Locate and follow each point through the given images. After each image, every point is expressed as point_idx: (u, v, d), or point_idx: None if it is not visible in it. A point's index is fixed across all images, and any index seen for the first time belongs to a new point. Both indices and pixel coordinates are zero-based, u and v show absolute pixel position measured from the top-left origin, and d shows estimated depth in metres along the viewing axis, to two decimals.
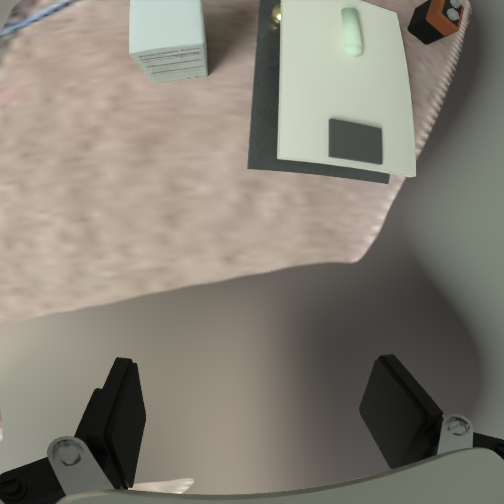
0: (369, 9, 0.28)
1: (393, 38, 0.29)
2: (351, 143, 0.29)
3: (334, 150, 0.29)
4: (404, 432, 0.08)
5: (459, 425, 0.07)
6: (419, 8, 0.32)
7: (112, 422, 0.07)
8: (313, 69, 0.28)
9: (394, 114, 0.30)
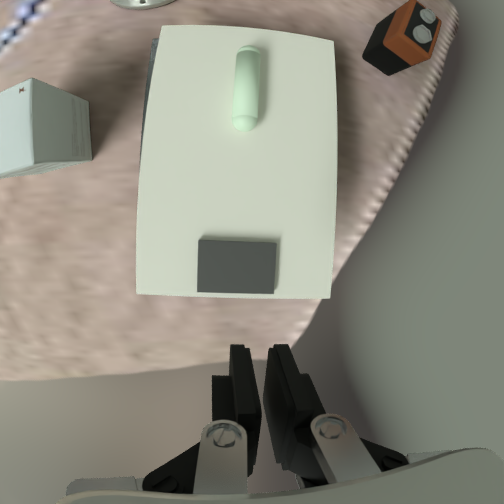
0: (287, 43, 0.23)
1: (321, 84, 0.24)
2: (227, 272, 0.24)
3: (202, 284, 0.24)
4: (281, 425, 0.09)
5: (331, 425, 0.08)
6: (380, 25, 0.27)
7: (256, 399, 0.08)
8: (182, 163, 0.23)
9: (304, 214, 0.25)
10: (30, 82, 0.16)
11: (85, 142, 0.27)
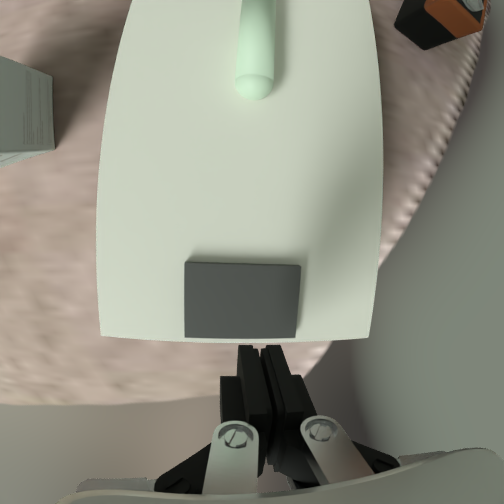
0: None
1: (358, 45, 0.16)
2: (228, 309, 0.16)
3: (192, 327, 0.16)
4: (271, 426, 0.09)
5: (321, 427, 0.08)
6: None
7: (267, 400, 0.08)
8: (161, 147, 0.15)
9: (339, 222, 0.17)
10: None
11: (44, 126, 0.19)
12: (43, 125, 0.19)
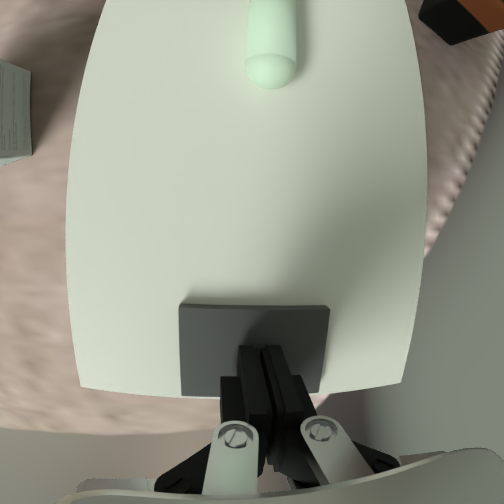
0: None
1: (393, 30, 0.12)
2: (236, 364, 0.12)
3: (191, 384, 0.12)
4: (271, 426, 0.09)
5: (321, 427, 0.08)
6: None
7: (267, 400, 0.08)
8: (146, 152, 0.11)
9: (376, 250, 0.13)
10: None
11: (18, 129, 0.15)
12: (17, 127, 0.15)
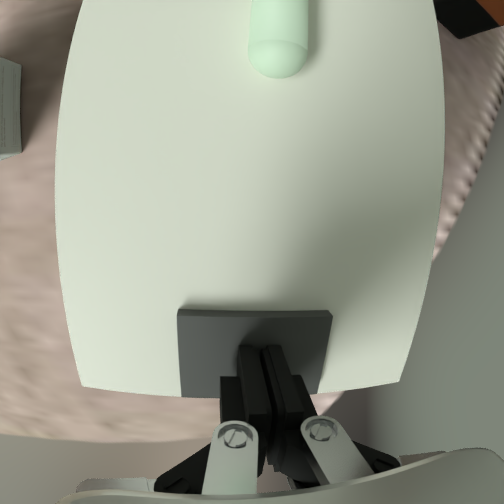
0: None
1: (415, 12, 0.09)
2: (236, 368, 0.12)
3: (191, 387, 0.12)
4: (272, 426, 0.09)
5: (321, 427, 0.08)
6: None
7: (267, 400, 0.08)
8: (137, 150, 0.10)
9: (384, 254, 0.12)
10: None
11: (7, 124, 0.14)
12: (6, 123, 0.14)
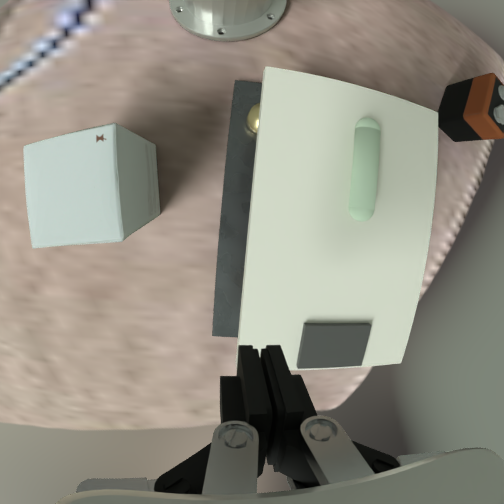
0: (399, 112, 0.22)
1: (425, 165, 0.23)
2: (327, 351, 0.24)
3: (304, 362, 0.24)
4: (271, 426, 0.09)
5: (321, 427, 0.08)
6: (453, 89, 0.28)
7: (267, 400, 0.08)
8: (294, 248, 0.23)
9: (395, 296, 0.25)
10: (113, 129, 0.16)
11: (155, 196, 0.27)
12: (155, 194, 0.27)
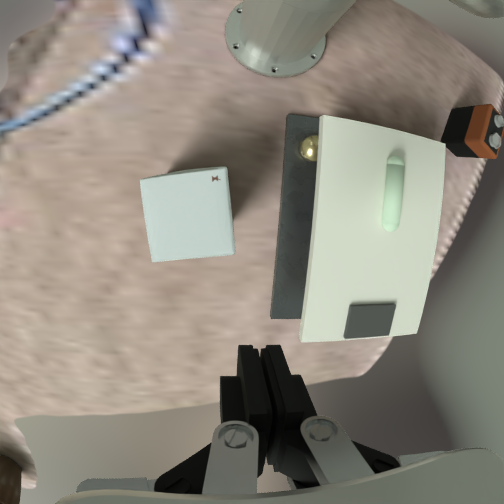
0: (417, 147, 0.29)
1: (435, 186, 0.31)
2: (365, 325, 0.33)
3: (349, 334, 0.33)
4: (271, 426, 0.09)
5: (321, 427, 0.08)
6: (456, 114, 0.35)
7: (267, 400, 0.08)
8: (344, 252, 0.31)
9: (412, 283, 0.33)
10: (225, 172, 0.24)
11: None
12: None
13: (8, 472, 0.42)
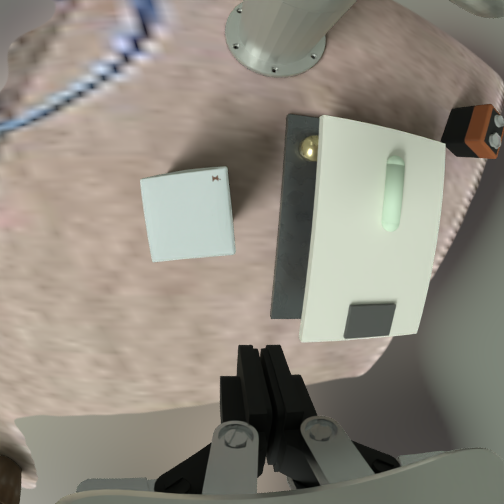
0: (417, 147, 0.29)
1: (435, 186, 0.31)
2: (365, 325, 0.33)
3: (349, 334, 0.33)
4: (271, 426, 0.09)
5: (321, 427, 0.08)
6: (456, 114, 0.35)
7: (267, 400, 0.08)
8: (344, 252, 0.31)
9: (412, 283, 0.33)
10: (225, 172, 0.24)
11: None
12: None
13: (8, 472, 0.42)
